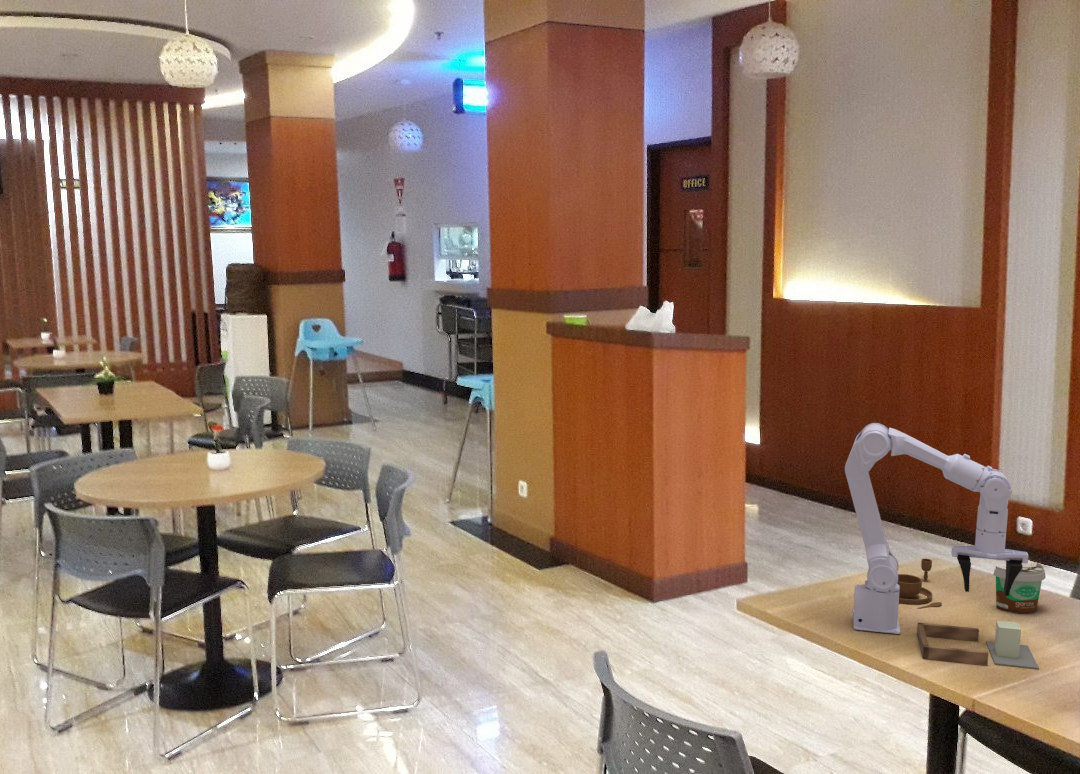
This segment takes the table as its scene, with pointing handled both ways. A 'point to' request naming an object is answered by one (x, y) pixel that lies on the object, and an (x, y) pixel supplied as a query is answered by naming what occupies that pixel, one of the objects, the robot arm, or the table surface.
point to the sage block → (1007, 639)
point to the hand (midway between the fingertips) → (986, 592)
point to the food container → (1020, 590)
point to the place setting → (915, 587)
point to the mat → (1023, 661)
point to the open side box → (950, 653)
